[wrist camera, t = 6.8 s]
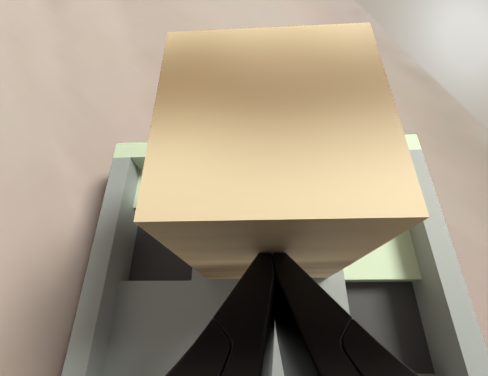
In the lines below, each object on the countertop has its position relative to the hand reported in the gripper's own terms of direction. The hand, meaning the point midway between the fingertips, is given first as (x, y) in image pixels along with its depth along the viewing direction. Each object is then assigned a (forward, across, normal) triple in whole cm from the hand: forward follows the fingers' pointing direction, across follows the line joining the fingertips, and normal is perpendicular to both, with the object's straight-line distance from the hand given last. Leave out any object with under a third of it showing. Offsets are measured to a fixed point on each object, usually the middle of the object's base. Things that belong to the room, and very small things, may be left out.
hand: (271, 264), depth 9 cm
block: (+6, 0, +2) cm, 6 cm away
